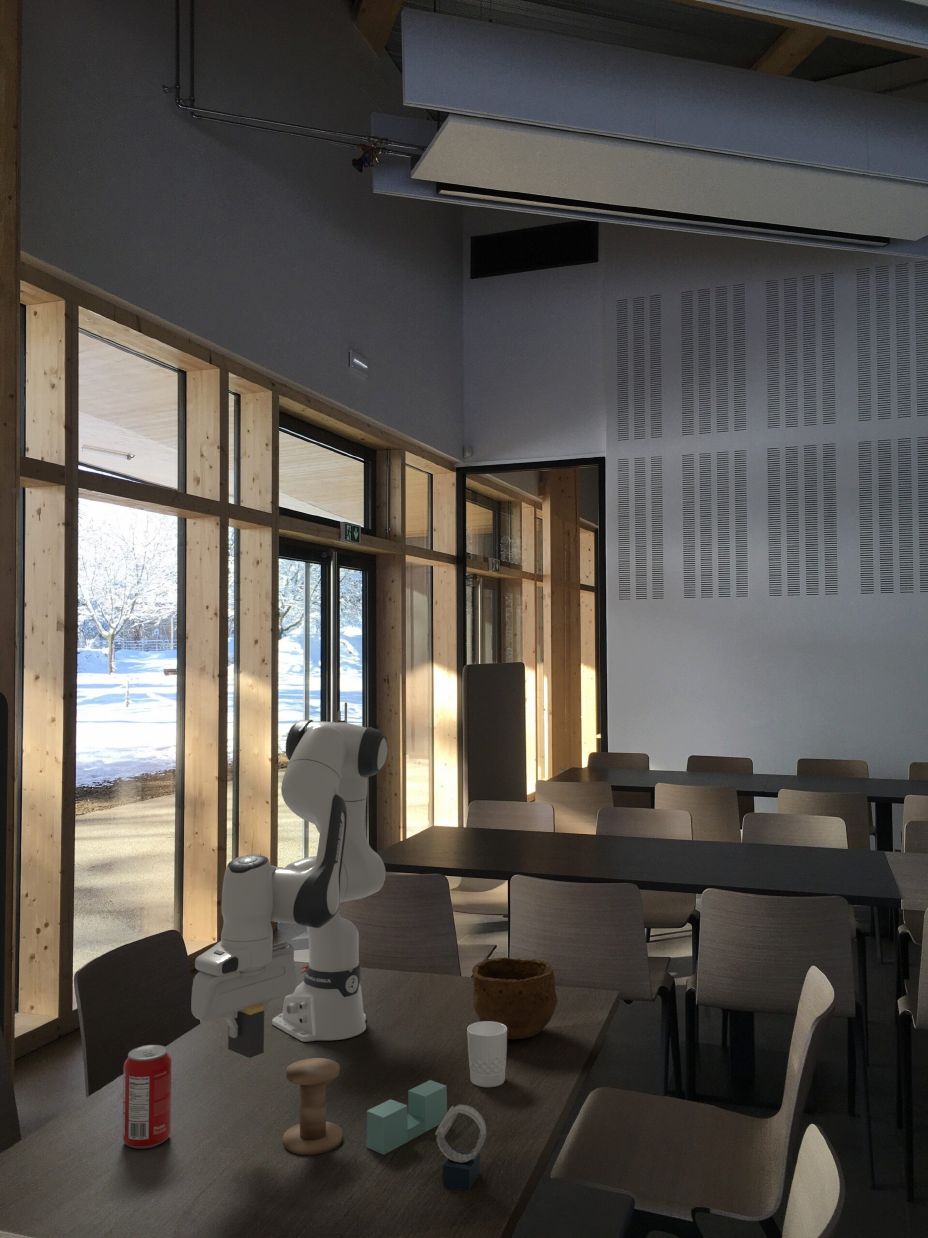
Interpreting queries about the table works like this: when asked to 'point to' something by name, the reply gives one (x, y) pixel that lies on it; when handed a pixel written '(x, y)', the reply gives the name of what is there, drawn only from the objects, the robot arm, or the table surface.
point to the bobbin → (312, 1108)
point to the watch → (460, 1151)
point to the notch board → (406, 1117)
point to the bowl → (515, 994)
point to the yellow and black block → (249, 1032)
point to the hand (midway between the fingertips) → (245, 1032)
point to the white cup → (487, 1053)
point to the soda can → (147, 1097)
